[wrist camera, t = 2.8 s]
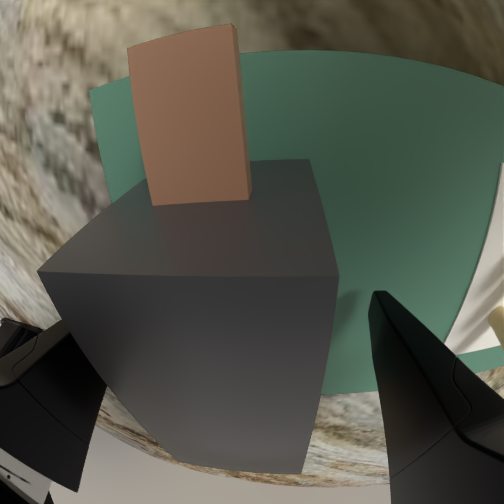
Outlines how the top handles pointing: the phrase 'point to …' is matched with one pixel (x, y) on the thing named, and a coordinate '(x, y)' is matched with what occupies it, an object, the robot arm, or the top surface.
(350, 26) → the top surface
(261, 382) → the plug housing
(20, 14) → the top surface
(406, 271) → the board
